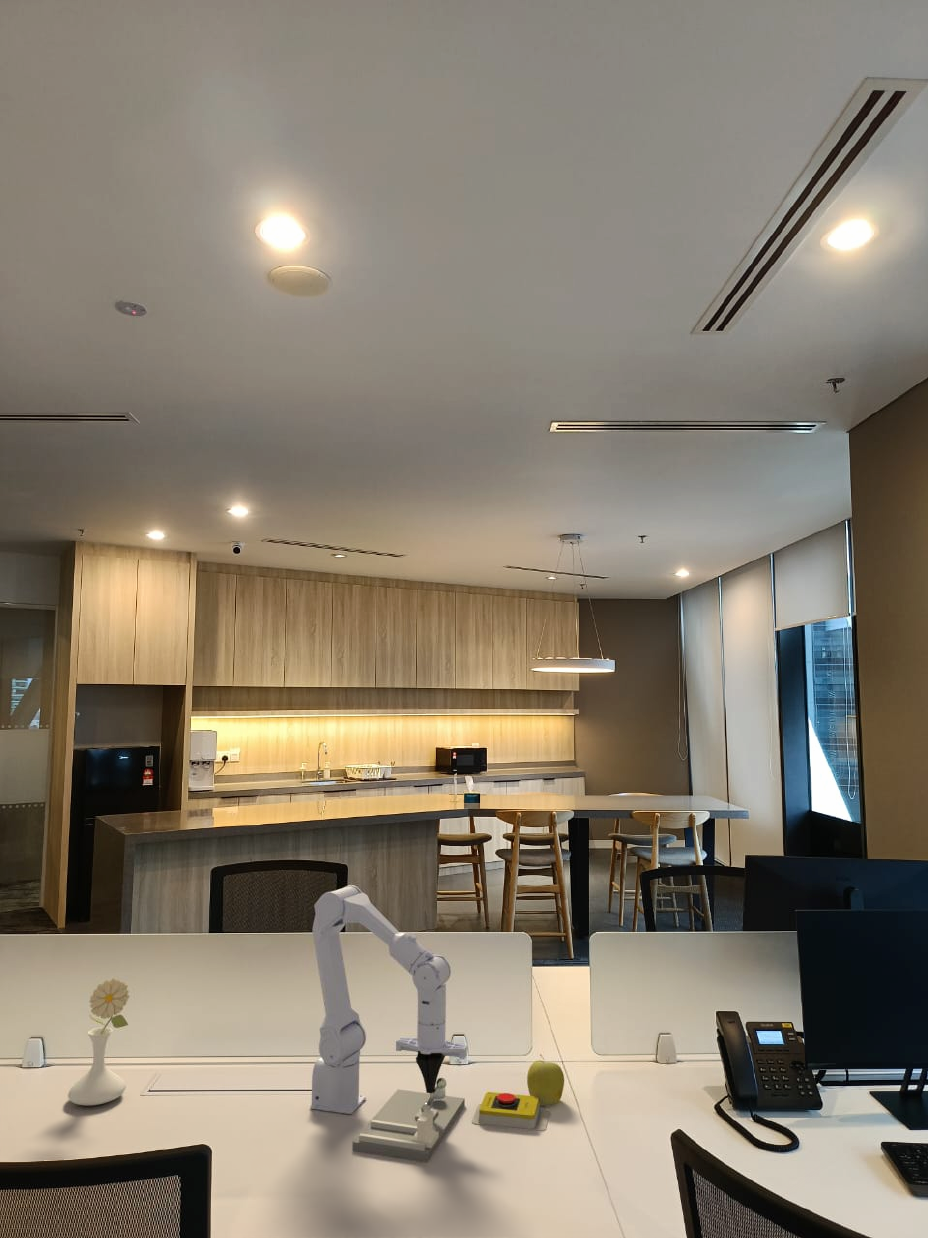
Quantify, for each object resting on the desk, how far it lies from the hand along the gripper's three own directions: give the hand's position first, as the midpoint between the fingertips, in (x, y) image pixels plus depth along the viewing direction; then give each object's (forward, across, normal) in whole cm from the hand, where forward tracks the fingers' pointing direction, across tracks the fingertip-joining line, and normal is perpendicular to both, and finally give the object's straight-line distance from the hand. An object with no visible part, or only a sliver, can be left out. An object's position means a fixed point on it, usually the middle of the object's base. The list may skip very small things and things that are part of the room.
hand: (430, 1091), depth 172 cm
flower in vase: (+7, -71, -10) cm, 72 cm away
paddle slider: (+5, +2, -10) cm, 11 cm away
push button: (+4, -1, +7) cm, 8 cm away
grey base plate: (+6, -3, -2) cm, 7 cm away
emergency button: (+7, +15, +8) cm, 18 cm away
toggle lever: (+3, -1, 0) cm, 3 cm away
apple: (+7, +20, +17) cm, 27 cm away
